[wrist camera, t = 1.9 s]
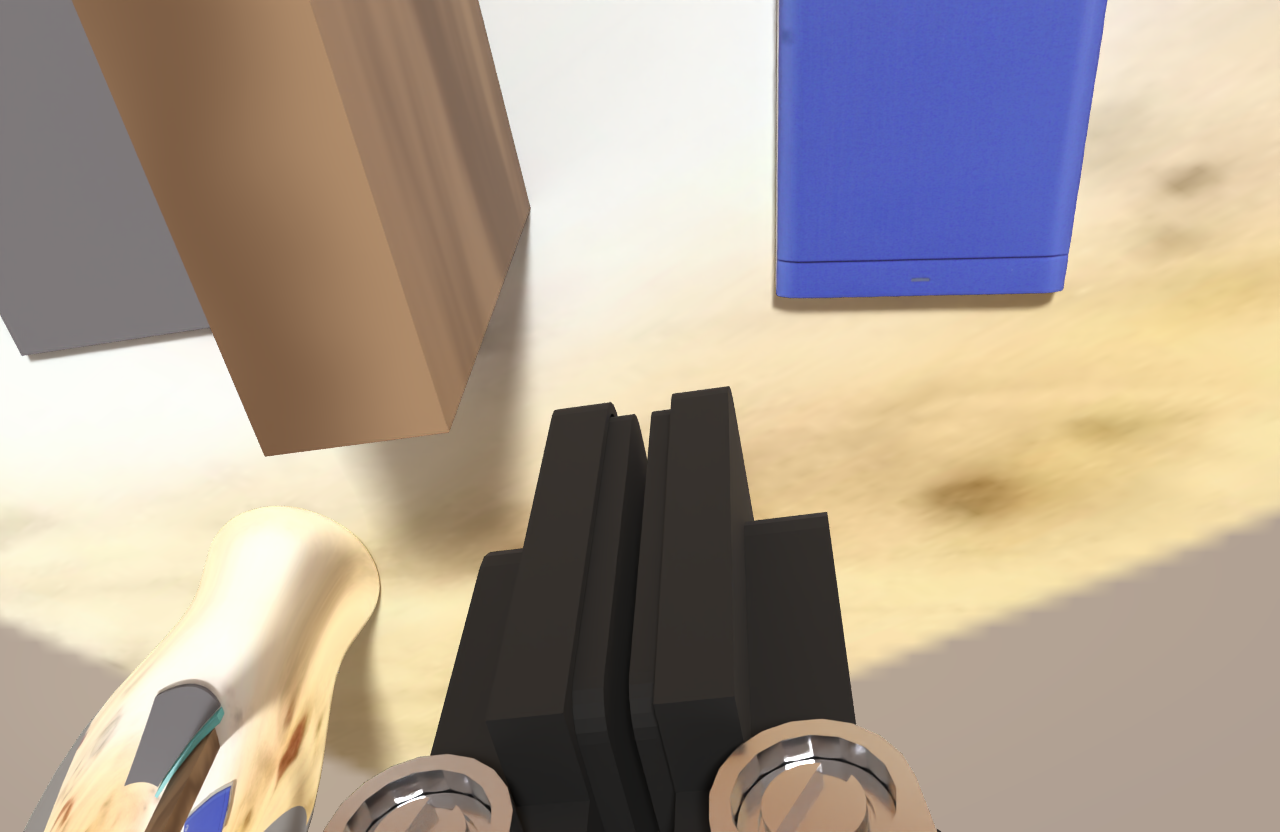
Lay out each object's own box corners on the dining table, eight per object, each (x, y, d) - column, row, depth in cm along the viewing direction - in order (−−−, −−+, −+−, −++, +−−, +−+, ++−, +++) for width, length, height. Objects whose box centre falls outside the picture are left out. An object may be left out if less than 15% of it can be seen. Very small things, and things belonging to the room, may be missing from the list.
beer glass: (203, 632, 44) (-10, 1022, 31) (191, 479, 40) (-56, 851, 27) (390, 658, 44) (256, 1058, 31) (396, 509, 40) (245, 893, 27)
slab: (435, -171, 29) (280, -89, 19) (530, 208, 34) (449, 432, 24) (282, -138, 30) (53, -43, 20) (398, 229, 35) (265, 456, 25)
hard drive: (779, -177, 28) (776, 300, 34) (1141, -197, 27) (1067, 294, 34) (777, -185, 29) (774, 277, 36) (1122, -203, 28) (1054, 271, 35)
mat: (177, -211, 29) (171, -209, 29) (355, 300, 36) (351, 306, 36) (-217, -122, 31) (-228, -120, 30) (28, 349, 38) (21, 355, 37)
